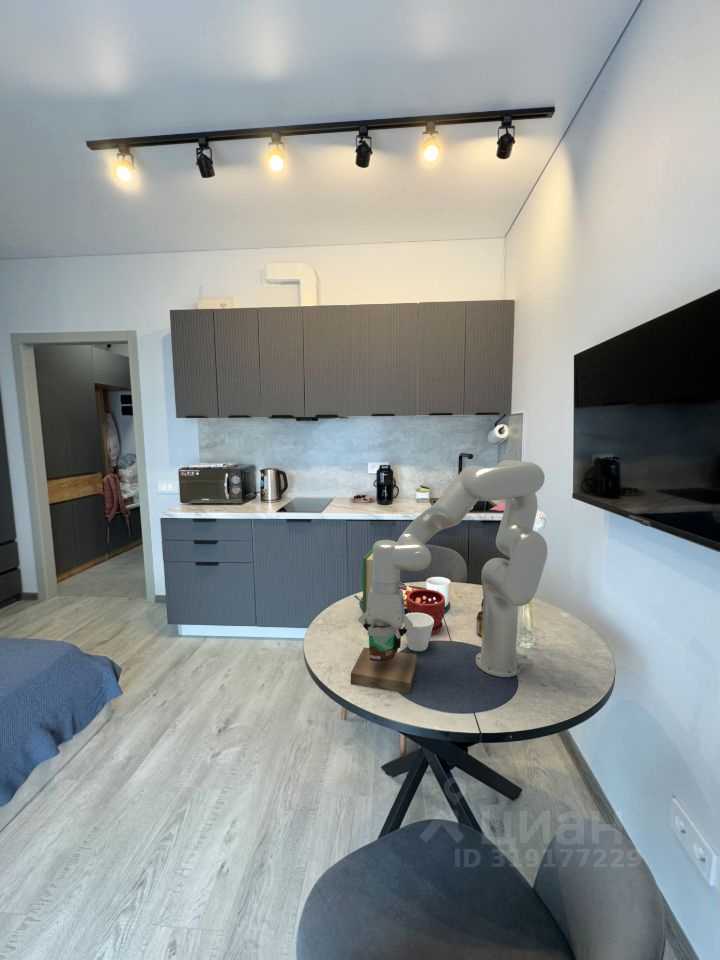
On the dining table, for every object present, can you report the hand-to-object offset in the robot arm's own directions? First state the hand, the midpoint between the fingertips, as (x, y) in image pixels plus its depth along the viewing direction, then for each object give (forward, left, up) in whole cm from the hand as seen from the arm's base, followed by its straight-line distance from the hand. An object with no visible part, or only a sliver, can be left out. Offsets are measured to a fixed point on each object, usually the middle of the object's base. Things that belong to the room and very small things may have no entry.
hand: (384, 647), depth 113 cm
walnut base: (0, 0, -8) cm, 8 cm away
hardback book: (+10, -37, -8) cm, 39 cm away
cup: (-7, -17, -8) cm, 20 cm away
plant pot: (-8, -30, -8) cm, 32 cm away
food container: (-1, 0, -3) cm, 3 cm away
